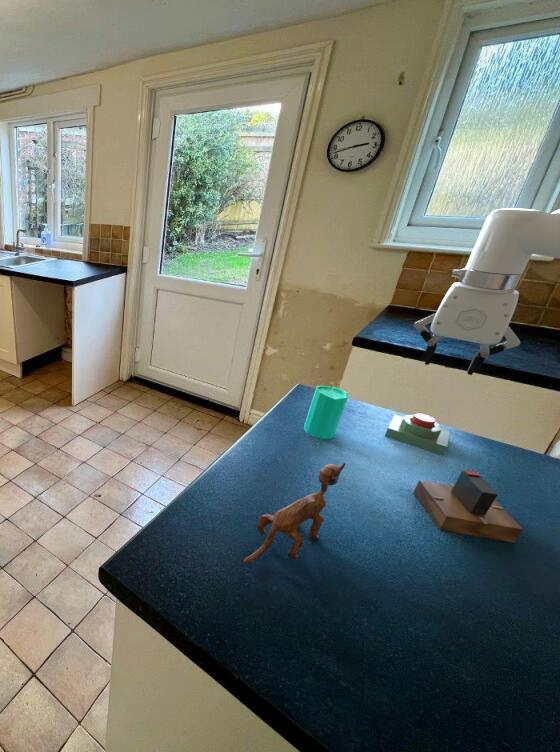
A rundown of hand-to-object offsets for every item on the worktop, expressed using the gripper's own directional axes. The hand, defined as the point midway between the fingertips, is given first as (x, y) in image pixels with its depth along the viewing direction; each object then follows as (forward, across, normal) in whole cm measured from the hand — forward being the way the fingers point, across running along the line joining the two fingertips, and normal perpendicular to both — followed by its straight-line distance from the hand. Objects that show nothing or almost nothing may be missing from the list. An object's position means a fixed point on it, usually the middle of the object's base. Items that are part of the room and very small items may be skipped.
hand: (448, 366), depth 84 cm
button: (+14, 0, 0) cm, 14 cm away
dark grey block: (+15, +9, -24) cm, 29 cm away
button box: (+18, 0, 0) cm, 18 cm away
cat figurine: (+18, -11, -52) cm, 56 cm away
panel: (+18, +9, -24) cm, 31 cm away
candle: (+18, -16, -12) cm, 27 cm away
